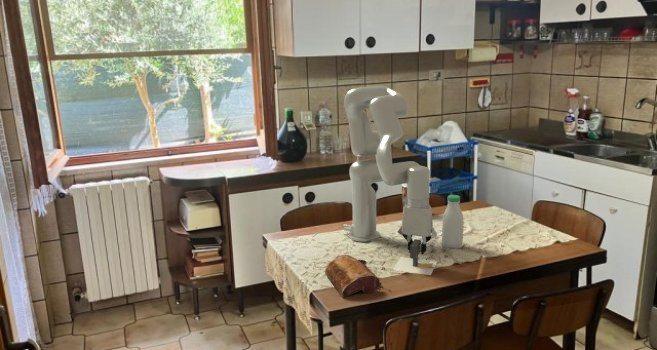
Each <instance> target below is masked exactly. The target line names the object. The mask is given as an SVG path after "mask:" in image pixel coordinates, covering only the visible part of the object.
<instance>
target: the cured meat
mask: <svg viewBox="0 0 657 350" xmlns="http://www.w3.org/2000/svg"><path fill="white" fill-rule="evenodd" d="M366 262H367V261H366V260H364V259H357V258H356V257H353V256H351V255H349V254H342V255H338V256H337V257H335V258H334V259H332V260H331V261H330V262H329V263H328V264H327V266H326V267H325V269H324V272H325V275H326V277H327V279H328V280H329V281H330V283H331V284H332V286H333V287H334V288H335V290H337V291H338V293H339V295H340V297H341V298H347V297H350V295H352V294H355V293H358V292H360V291H362V292H363V294H369V293H373V292H376V291H379V290H380V289H381V288H382V282H381V280H380V278H379V277H378V276H377V275H376V274H375V273H374V272H373V271H372V270H371V269H370V268H369V267H368V266H367V265H366V264H365V263H366Z"/></svg>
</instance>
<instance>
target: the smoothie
mask: <svg viewBox="0 0 657 350" xmlns="http://www.w3.org/2000/svg"><path fill="white" fill-rule="evenodd" d="M406 197H407V183H406V184H401V198H402V200H401V201H402V211H403V210H404V206H405V205H406V202H403V198H406Z"/></svg>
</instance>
